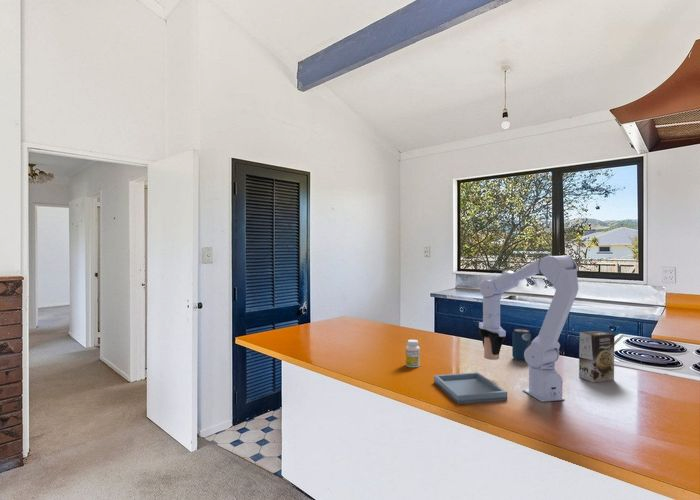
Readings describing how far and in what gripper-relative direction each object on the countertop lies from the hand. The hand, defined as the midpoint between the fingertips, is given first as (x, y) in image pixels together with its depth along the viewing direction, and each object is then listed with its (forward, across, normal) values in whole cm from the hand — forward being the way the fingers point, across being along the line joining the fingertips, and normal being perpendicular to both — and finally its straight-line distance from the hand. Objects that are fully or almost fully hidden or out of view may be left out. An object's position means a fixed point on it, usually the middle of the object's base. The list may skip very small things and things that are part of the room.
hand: (491, 352), depth 137 cm
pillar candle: (+2, 0, 0) cm, 2 cm away
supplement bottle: (+9, -18, -23) cm, 30 cm away
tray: (+9, +10, -14) cm, 19 cm away
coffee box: (+9, +8, +35) cm, 37 cm away
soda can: (+9, -17, +23) cm, 30 cm away
